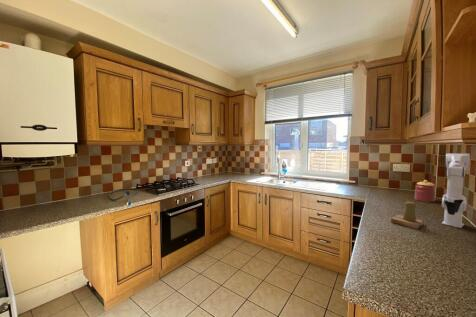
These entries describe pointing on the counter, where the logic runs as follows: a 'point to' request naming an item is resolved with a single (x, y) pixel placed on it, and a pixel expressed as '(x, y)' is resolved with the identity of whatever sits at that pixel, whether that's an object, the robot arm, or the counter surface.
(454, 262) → the counter surface
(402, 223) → the tan flat block
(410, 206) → the olive rounded piece
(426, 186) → the canister
